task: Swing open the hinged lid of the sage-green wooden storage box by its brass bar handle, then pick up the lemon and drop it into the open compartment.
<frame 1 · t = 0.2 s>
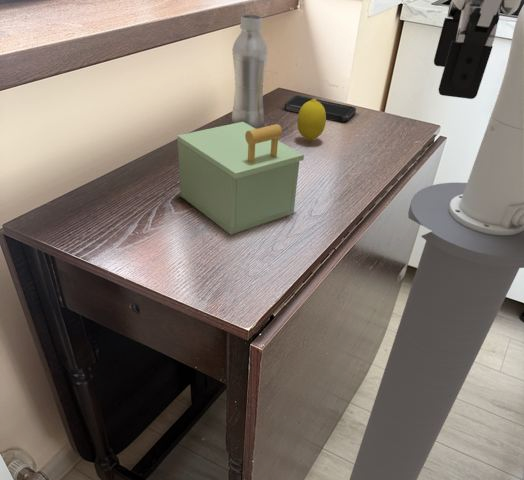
hand: (452, 80, 47), 26 cm above the table, tool pointing down, fingers open, 9 cm apart
lemon: (308, 142, 102), on the table
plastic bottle: (247, 133, 104), on the table
phone: (319, 111, 115), on the table
chest: (236, 204, 81), on the table
lid: (239, 133, 73), point 11 cm above the table, hinge at 0.0°
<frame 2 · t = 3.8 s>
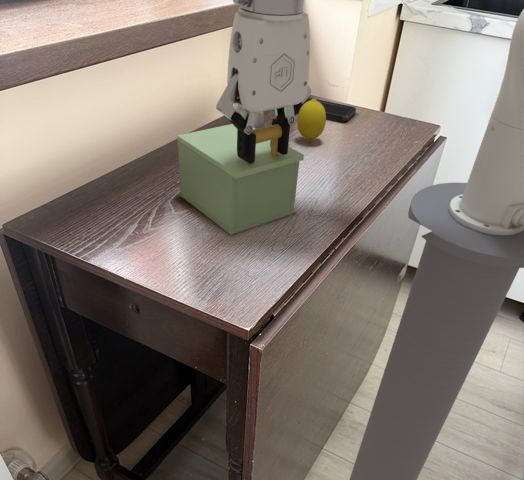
hand: (262, 154, 71), 10 cm above the table, tool pointing down, fingers closed on lid, 5 cm apart
lid: (239, 133, 73), point 11 cm above the table, hinge at 0.0°, touching gripper
everything else where it was.
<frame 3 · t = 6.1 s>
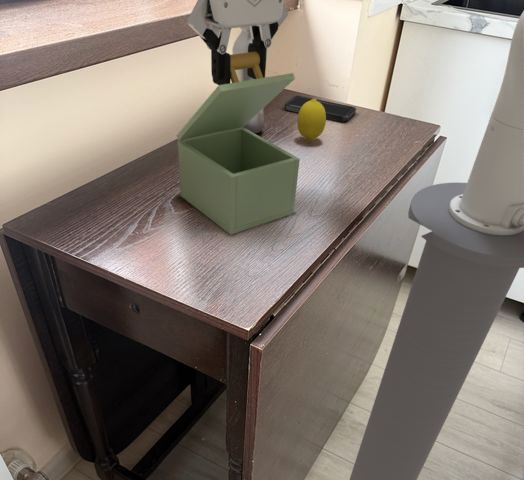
hand: (239, 80, 68), 18 cm above the table, tool pointing down, fingers closed on lid, 5 cm apart
lid: (227, 93, 72), point 16 cm above the table, hinge at 41.3°, touching gripper
everything else where it was.
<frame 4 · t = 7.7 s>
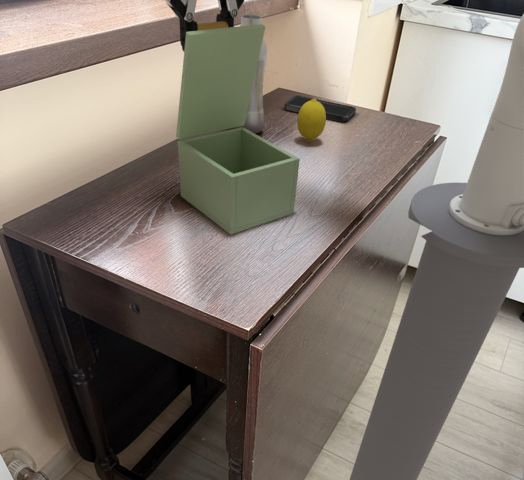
hand: (207, 49, 71), 20 cm above the table, tool pointing down, fingers closed on lid, 5 cm apart
lid: (210, 76, 73), point 17 cm above the table, hinge at 74.1°, touching gripper
everything else where it was.
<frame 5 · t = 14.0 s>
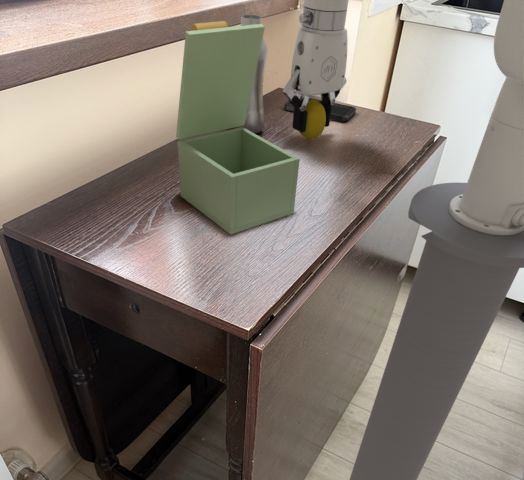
hand: (310, 126, 100), 3 cm above the table, tool pointing down, fingers closed on lemon, 5 cm apart
lemon: (308, 142, 102), on the table, touching gripper
lid: (210, 75, 73), point 17 cm above the table, hinge at 74.5°
everything else where it was.
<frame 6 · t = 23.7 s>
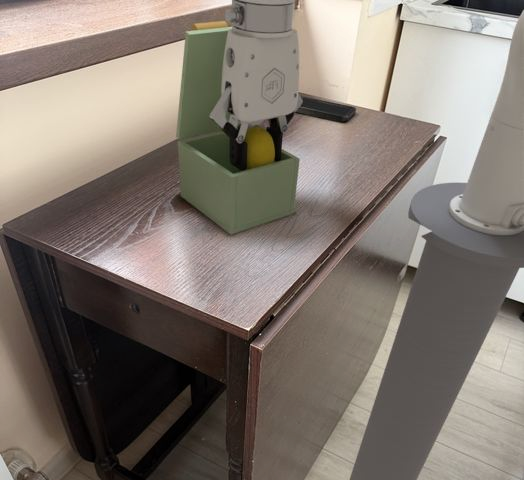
hand: (255, 161, 74), 8 cm above the table, tool pointing down, fingers closed on lemon, 5 cm apart
lemon: (254, 181, 76), point 5 cm above the table, touching gripper
everything else where it was.
when the fingers open (10 cm above the table, at t = 35.6 s): lemon drops 5 cm, resting on chest.
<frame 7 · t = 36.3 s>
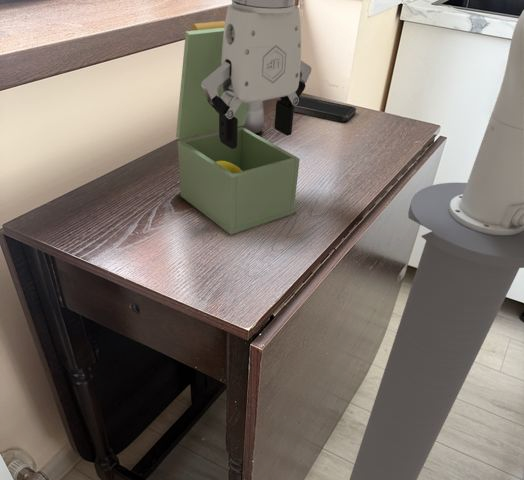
hand: (256, 138, 72), 11 cm above the table, tool pointing down, fingers open, 9 cm apart
lemon: (250, 199, 78), point 2 cm above the table, touching chest
everything else where it was.
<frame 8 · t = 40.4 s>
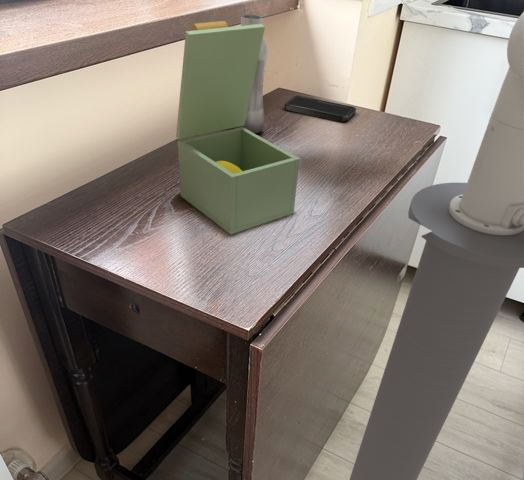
nothing on the table moved.
at the end: lid at +74° (first picture: +0°); lemon inside the target area in the chest (2.7 cm from its centre), point 1.9 cm above the chest's base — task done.
